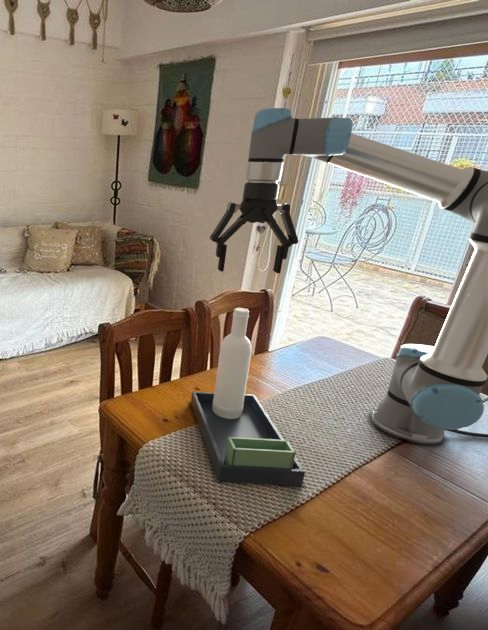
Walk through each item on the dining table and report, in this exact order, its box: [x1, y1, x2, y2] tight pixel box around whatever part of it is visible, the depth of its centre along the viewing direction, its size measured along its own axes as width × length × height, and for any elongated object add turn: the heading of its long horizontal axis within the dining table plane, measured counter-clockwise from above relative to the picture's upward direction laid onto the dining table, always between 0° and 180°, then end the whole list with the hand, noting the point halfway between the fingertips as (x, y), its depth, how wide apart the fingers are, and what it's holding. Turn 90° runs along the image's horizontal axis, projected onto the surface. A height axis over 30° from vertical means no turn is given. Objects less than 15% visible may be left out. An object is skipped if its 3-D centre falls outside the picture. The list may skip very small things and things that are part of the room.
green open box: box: [224, 437, 296, 469], centre depth 97 cm, size 5×13×7 cm, turn 85°
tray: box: [190, 391, 306, 487], centre depth 111 cm, size 34×18×4 cm, turn 175°
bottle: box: [212, 307, 253, 419], centre depth 117 cm, size 8×8×30 cm
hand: (248, 271), depth 109 cm, fingers open, 13 cm apart
